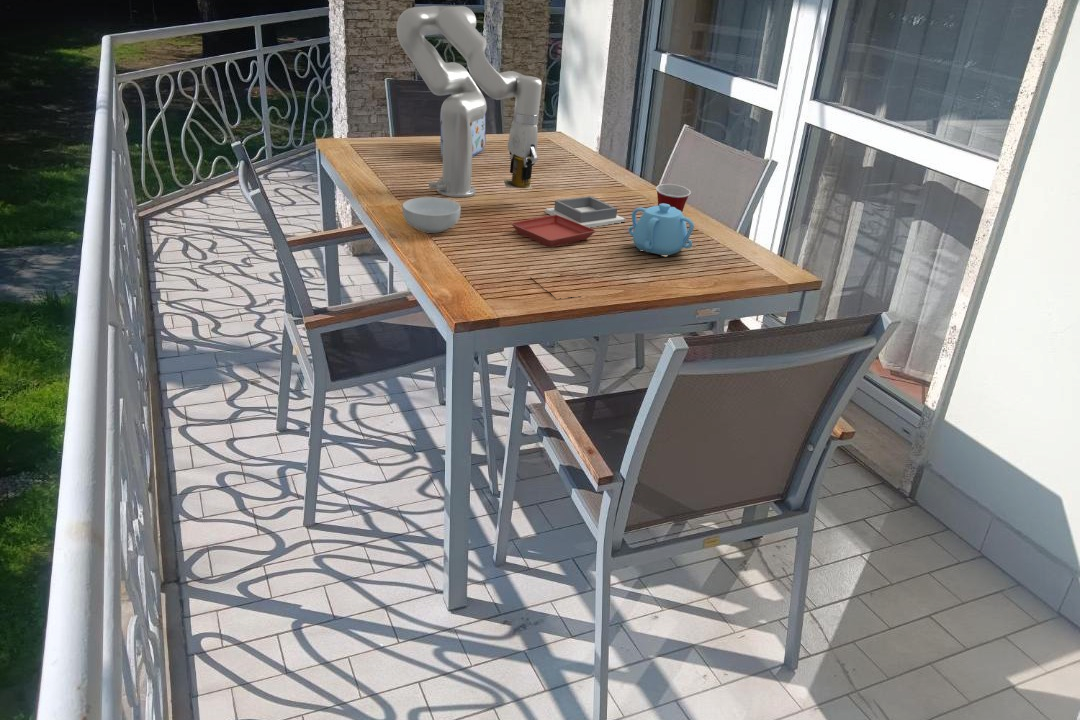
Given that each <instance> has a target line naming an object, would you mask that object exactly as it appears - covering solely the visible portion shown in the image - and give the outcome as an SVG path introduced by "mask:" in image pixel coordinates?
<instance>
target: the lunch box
mask: <svg viewBox="0 0 1080 720" xmlns="http://www.w3.org/2000/svg"><path fill="white" fill-rule="evenodd" d="M486 113H487V112H486ZM486 113H485V115H484V116H483V117H482V118H481V119H479V120H477V121H474V122H471V123H470V127H471V131H472V137H473V145H472V158H473V157H474V156H476V155H477V154H479V153H481V152H482V151H484V149H485V146H486V141H487V140H486V136H487V135H486V118H487V117H486V116H487V114H486ZM439 131H440V156H441V158H442V159H443V124H442V118H441V111H440V113H439Z"/></svg>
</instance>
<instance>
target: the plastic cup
mask: <svg viewBox="0 0 1080 720" xmlns="http://www.w3.org/2000/svg"><path fill="white" fill-rule="evenodd" d="M655 189H656V195H657V206H659V204H662V203H665V204H669V205H670V207H675V208H676V209H678V210H680V211H681V212H682V213H683V211H684V209H685V206H686V202H687V201H688V198H689V196H690V195H691V193H692V192H691V190H690V189H688V187H685V186H683V185H679V184H674V183H661V184H658V185H657V186H656V187H655Z"/></svg>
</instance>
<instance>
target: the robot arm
mask: <svg viewBox="0 0 1080 720" xmlns="http://www.w3.org/2000/svg"><path fill="white" fill-rule="evenodd" d="M476 17H477V16H476V15H475V13H474V12H473V11H472V9H471V8H469V7H467V6H464V5H459V6H458V5H457V6H455V5H454V6H452V5H451V6H450V5H449V6H448V5H447V6H446V5H428V6H427V5H426V6H414V7H409V8H406V9H405V10H404V11H402V13H401V14H400V15H399V17H398V18H397V23H396V35H397V41H398V43H399V44H400V46H401V48H402V50H403V51H404V54H406V56H407V57H408V58H409V60H410V61H411V62H412V63H413V66H414V67H415V69H416V70H417V72H418V73H419V75H420V77H421V78H422V80H423V81H424V83H425V84H426V87H428V89H429V90H430V92H431V93H432V94H433V95H436V96H439V97H442V96H448V95H450V96H448V97H447V98H445V100H444V101H443V103H442V104H441V108H440V112H441V118H442V124H443V158H442V177H439V178H438V179H439V180H437V181H430V182H428V188H429V189H436V190H437V193H438V194H440V195H443V196H445V197H450V198H451V197H452V198H467V197H471V196H472V197H473V196H474V195H476V189H475V187H473V186H472V173H473V171H472V167H473V164H472V163H473V157H472V145H473V137H472V131H471V127H470V123H471V122H474V121H477V120H479V119H481V118H482V117H483V116H484V115H485V113H487V110H488V106H487V101H486V98H485V97H484V95H483V93H485V94H486V95H487V96H488V97H489V98H491V99H494V100H496V101H499V100H503V99H504V100H505V99H508V98H513V97H515V101H514V111H513V113H514V114H513V120H512V122H511V126H510V129H509V130H510V131H509V135H508V136H509V137H508V141H507V142H508V143H507V150H508V152H509V155H510V157H509V160H510V165H509V173H510V174H512V173H513V163H514V156H515V155H516V156H518V157H520V158H523V161H524V167H523V168H522V177H521V178H522V179H523V180H525V179H531V180H532V174H531V171H532V172H533V167H534V165H535V164H536V162H537V161H538V160H539V158H538V156H537V151H538V150H537V149H538V140H539V139H538V135H539V134H538V124H539V117H540V116H539V114H540V106H541V97H542V86H543V82H542V79H540V78H538V77H536V76H530V75H525V74H522V73H520V72H517V71H514V70H507V71H502V72H498V71H497V70H496V69H495V67H493V66H492V64H491V63H490V62H489V60H488V59H487V56H486V54H485V50H486V49H487V43H488V42H487V39H486V38H485V37H484V36H483V35H482V34H481V32H479V30H478V29H477V28H476V27H477V18H476ZM433 35H443V36H444V37H445V38H446V39H447V41H448V42H449V43H450V44H451V45H452V46H453V47H454V48H455V50H457V52H458V53H459V54H460V55H461V56H462V57H463V58H464V60H465V61H466V65H467V68H468V70H467V68H465V67H464V66H463V65H462V64H461V63H458V62H454V61H453V62H452V61H451V62H446V61H444V59H443V58H442V56H441V55H440V53H439V52H438V50H437V49H436V48H435V46H434V45H433V44H432V43H431V42H430V41H429V40H427V39H426V38H425V37H426V36H433ZM468 71H469V72H468ZM480 89H481V90H482V91H481V90H480ZM482 92H483V93H482ZM528 155H530V157H527V156H528ZM527 159H529V161H528V162H527Z"/></svg>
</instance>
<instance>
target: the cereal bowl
mask: <svg viewBox="0 0 1080 720" xmlns="http://www.w3.org/2000/svg"><path fill="white" fill-rule="evenodd" d="M401 206H402V208H401V209H402V215H403V218H404V220H405V222H406V223H407V224H408V225H409V226H411V227H413V228H415V229H417V230H419V231H420V230H421V232H423V231H424V232H423V233H427V232H429V234H431V233H432V234H436V233H441V232H444V231H445V230H449V229H450V228H452V227H454V226H455V225H456V224H457V223H458V222H459V220H460V217H461V204H460V203H458V202H457V201H455V200H452V199H449V198H443V197H437V196H436V197H434V196H433V197H432V196H425V197H416V198H415V197H414V198H411V199H407V200H406V201H404V202H403V203H402V205H401Z"/></svg>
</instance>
